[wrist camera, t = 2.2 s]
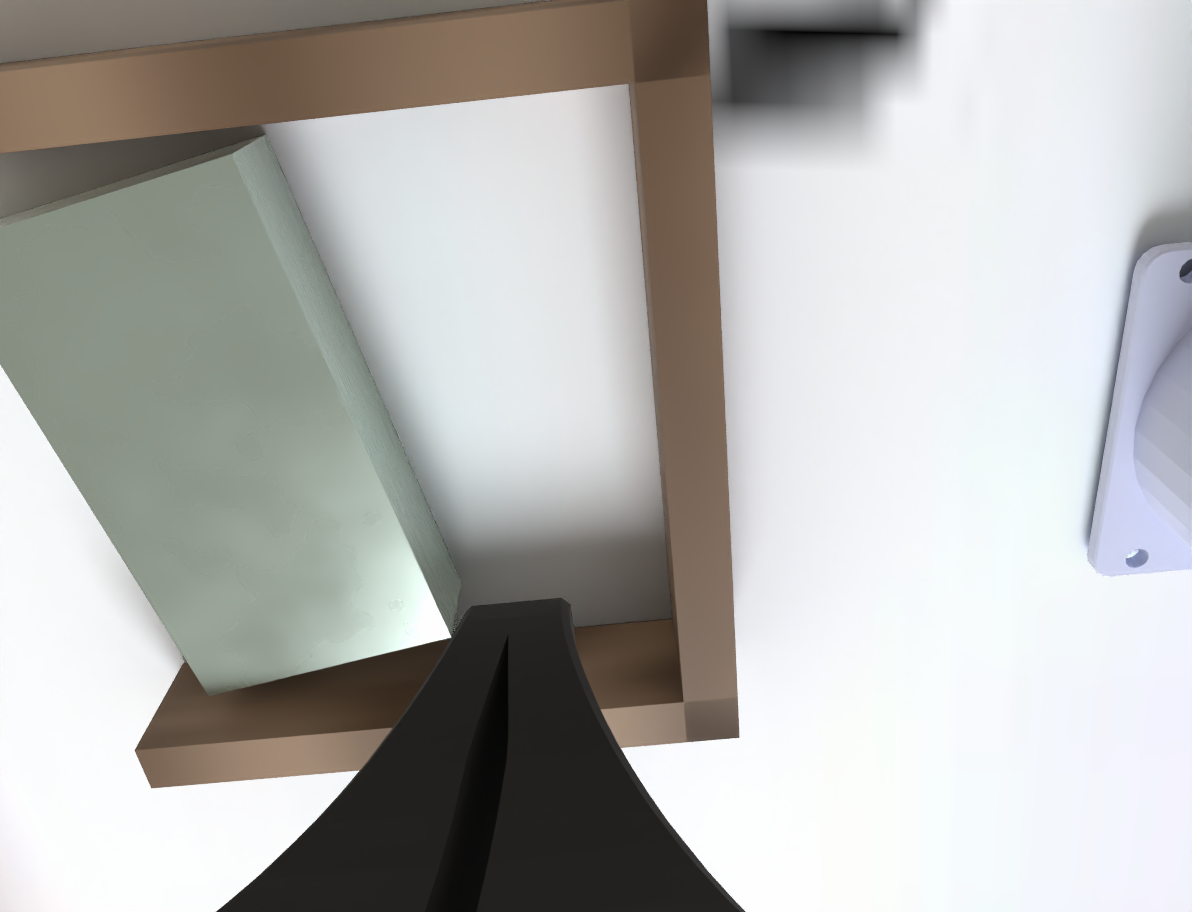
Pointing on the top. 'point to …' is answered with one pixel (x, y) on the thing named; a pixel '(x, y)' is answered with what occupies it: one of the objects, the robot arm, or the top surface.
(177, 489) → the cover plate
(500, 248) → the top surface
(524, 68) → the walnut box
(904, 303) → the top surface
